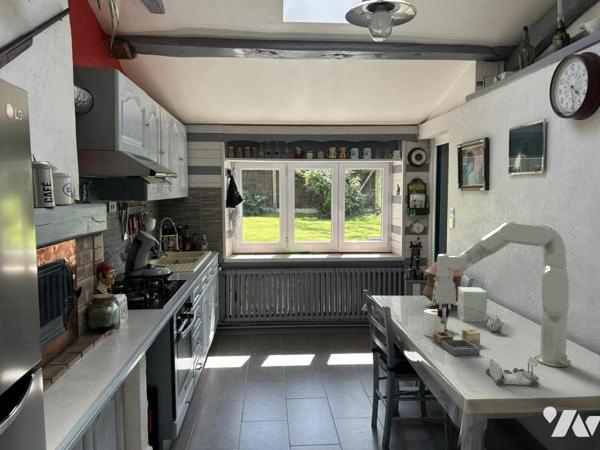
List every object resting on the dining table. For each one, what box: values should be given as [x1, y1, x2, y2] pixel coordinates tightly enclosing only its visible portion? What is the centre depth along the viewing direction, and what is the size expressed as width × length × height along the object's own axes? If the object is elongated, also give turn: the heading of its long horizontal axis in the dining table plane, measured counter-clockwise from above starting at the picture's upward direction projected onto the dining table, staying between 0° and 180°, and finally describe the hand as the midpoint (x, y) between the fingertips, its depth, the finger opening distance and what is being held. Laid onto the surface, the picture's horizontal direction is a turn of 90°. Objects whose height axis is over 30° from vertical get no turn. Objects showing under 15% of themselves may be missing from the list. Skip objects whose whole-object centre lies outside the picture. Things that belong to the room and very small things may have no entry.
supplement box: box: [456, 286, 488, 323], centre depth 256 cm, size 13×13×18 cm
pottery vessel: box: [422, 261, 465, 304], centre depth 284 cm, size 26×26×30 cm
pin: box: [440, 304, 447, 324], centre depth 212 cm, size 3×3×10 cm
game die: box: [484, 315, 504, 333], centre depth 233 cm, size 9×8×10 cm
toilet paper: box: [423, 308, 445, 338], centre depth 227 cm, size 10×10×12 cm
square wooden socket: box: [432, 331, 454, 347], centre depth 213 cm, size 7×7×4 cm
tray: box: [440, 339, 481, 357], centre depth 203 cm, size 12×12×3 cm
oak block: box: [461, 328, 481, 346], centre depth 214 cm, size 6×6×6 cm
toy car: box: [485, 355, 540, 388], centre depth 171 cm, size 18×10×12 cm
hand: (443, 316), depth 213 cm, fingers closed on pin, 2 cm apart
